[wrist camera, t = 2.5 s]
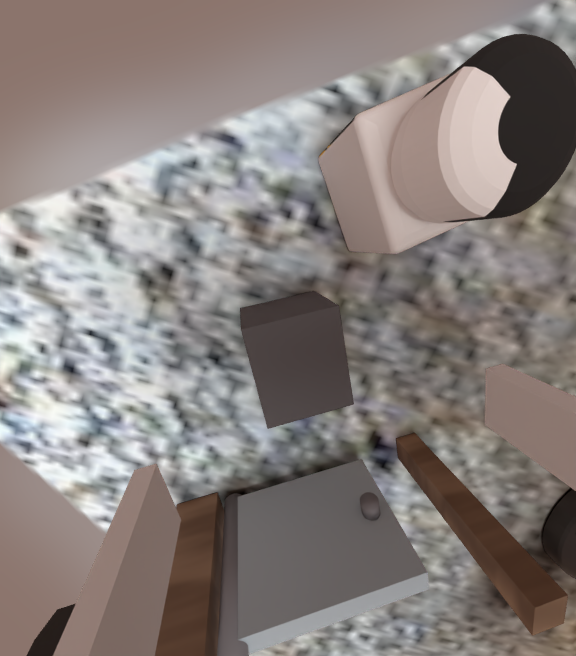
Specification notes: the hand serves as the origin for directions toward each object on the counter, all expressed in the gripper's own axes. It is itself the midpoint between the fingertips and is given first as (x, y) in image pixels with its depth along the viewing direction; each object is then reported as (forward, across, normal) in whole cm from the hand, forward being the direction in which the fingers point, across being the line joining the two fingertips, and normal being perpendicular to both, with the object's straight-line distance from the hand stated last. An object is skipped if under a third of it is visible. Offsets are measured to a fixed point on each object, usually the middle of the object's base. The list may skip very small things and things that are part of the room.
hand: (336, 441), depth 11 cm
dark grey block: (+13, 0, 0) cm, 13 cm away
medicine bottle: (+13, -9, -10) cm, 19 cm away
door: (+13, +2, +14) cm, 19 cm away
